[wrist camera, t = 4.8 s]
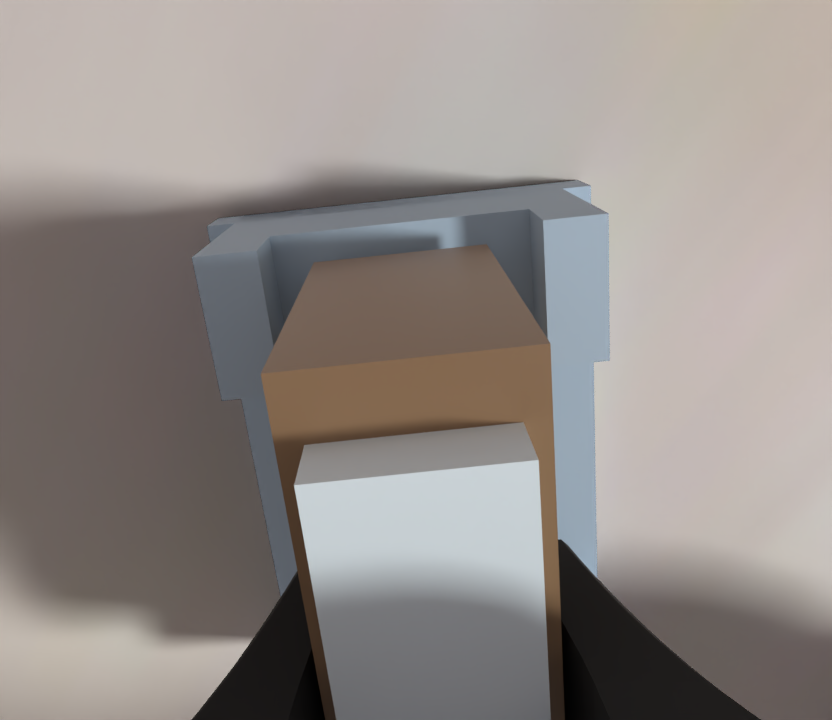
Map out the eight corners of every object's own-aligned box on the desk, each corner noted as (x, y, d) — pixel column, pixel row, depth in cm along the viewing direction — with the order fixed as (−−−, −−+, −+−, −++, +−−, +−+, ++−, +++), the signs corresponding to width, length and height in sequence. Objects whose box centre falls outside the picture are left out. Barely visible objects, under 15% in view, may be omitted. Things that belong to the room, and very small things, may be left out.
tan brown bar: (518, 719, 15) (589, 1070, 10) (384, 732, 15) (380, 1092, 10) (486, 243, 12) (569, 372, 6) (313, 262, 12) (243, 407, 6)
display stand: (588, 612, 19) (639, 750, 15) (300, 642, 19) (275, 787, 15) (578, 180, 15) (644, 209, 11) (218, 218, 15) (156, 261, 11)
